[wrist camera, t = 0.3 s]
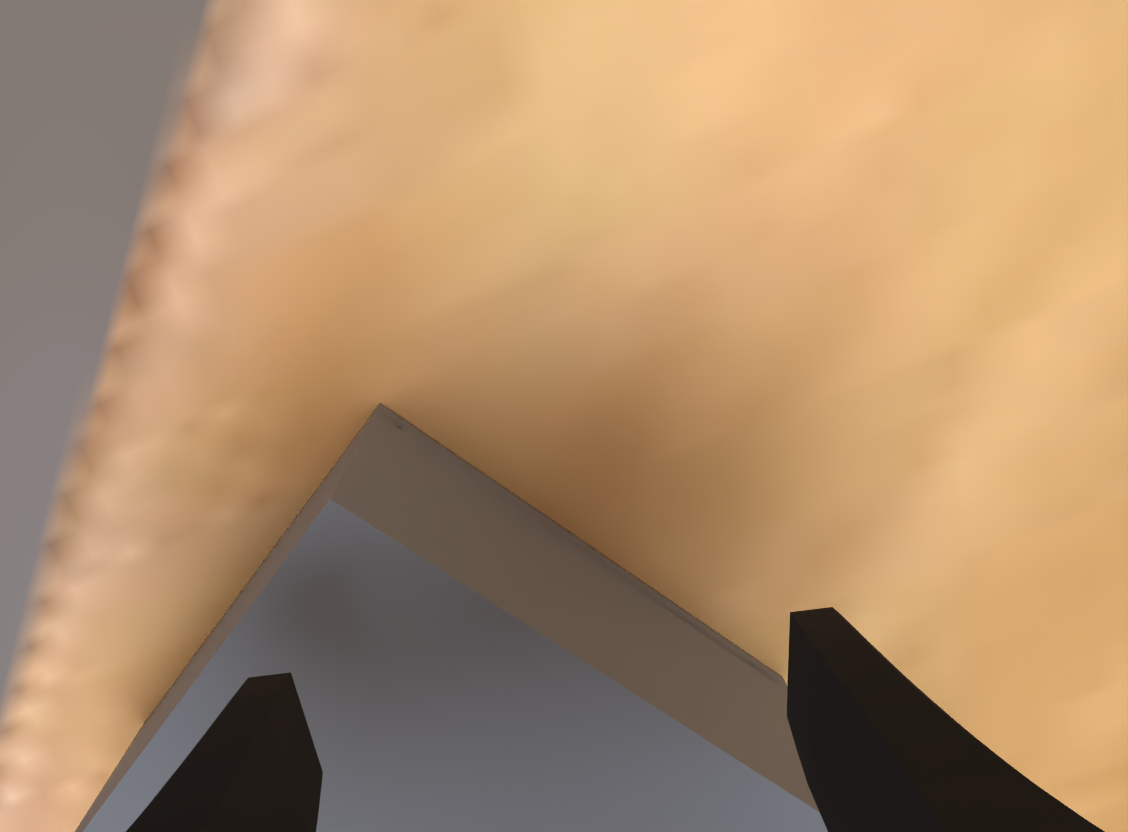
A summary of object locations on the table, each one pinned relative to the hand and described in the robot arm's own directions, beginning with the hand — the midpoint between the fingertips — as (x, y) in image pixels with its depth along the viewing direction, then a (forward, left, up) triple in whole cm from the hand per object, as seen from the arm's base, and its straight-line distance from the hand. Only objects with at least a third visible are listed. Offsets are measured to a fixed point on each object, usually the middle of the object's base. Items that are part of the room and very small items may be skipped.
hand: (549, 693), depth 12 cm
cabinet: (-7, -3, -10) cm, 13 cm away
